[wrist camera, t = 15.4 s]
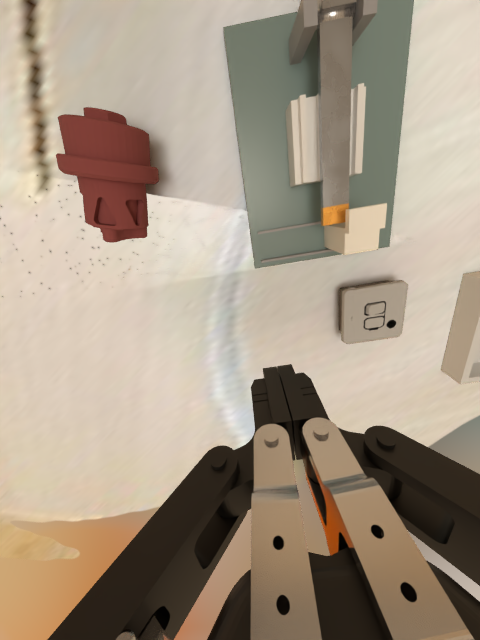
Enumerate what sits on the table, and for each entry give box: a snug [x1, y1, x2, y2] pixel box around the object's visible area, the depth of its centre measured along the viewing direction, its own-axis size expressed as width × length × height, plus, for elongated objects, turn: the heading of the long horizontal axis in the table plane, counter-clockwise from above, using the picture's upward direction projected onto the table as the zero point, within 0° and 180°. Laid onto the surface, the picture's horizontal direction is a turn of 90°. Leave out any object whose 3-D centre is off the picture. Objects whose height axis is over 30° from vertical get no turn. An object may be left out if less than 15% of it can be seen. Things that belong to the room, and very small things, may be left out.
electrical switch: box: [339, 280, 408, 344], centre depth 38 cm, size 9×5×9 cm
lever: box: [316, 0, 357, 226], centre depth 25 cm, size 22×3×2 cm, turn 9°
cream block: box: [324, 203, 387, 255], centre depth 30 cm, size 5×4×8 cm
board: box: [223, 0, 414, 268], centre depth 28 cm, size 26×20×7 cm
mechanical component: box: [56, 107, 159, 242], centre depth 28 cm, size 12×10×10 cm
